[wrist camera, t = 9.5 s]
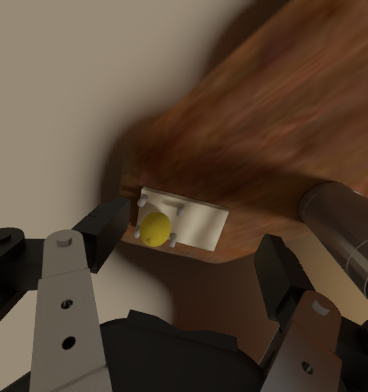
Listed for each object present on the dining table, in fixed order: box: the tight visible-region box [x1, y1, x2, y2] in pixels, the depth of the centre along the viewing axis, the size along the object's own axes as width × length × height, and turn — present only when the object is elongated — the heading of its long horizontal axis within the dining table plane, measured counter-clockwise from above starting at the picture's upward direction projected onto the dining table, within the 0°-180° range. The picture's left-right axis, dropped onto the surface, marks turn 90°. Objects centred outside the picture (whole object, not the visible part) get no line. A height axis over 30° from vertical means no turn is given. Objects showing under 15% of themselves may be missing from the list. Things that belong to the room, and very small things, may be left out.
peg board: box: [133, 186, 229, 251], centre depth 38 cm, size 17×10×4 cm, turn 77°
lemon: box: [139, 212, 171, 247], centre depth 35 cm, size 6×6×8 cm
